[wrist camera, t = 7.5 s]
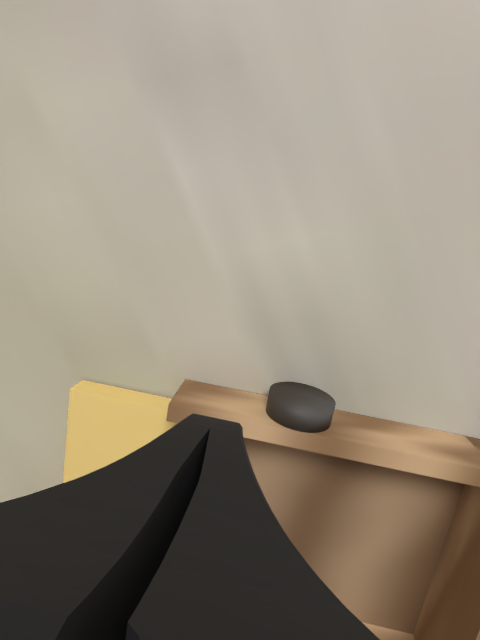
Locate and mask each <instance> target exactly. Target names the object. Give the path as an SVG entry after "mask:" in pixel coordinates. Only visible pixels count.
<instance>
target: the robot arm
mask: <svg viewBox="0 0 480 640" xmlns="http://www.w3.org/2000/svg"><path fill="white" fill-rule="evenodd" d="M0 640H380V639H379V638H378V637H377V636H376V635H375V634H374V633H373V632H371V631H370V630H369V629H368V628H367V627H366V626H365V625H364V624H363V623H362V622H361V621H360V620H359V619H358V618H357V617H356V616H355V615H354V614H353V613H352V612H351V611H349V610H348V609H347V608H346V606H345V605H344V604H343V603H342V602H341V601H340V600H339V599H338V598H337V597H336V596H335V595H334V593H333V592H332V591H331V590H330V589H329V588H328V587H327V586H326V585H325V583H324V582H323V581H322V580H321V579H320V578H319V577H318V576H317V574H316V573H315V572H314V571H313V570H312V568H311V567H310V566H309V564H308V563H307V562H306V561H305V559H304V558H303V557H302V555H301V554H300V553H299V551H298V550H297V549H296V547H295V546H294V545H293V543H292V542H291V541H290V539H289V538H288V536H287V535H286V533H285V532H284V530H283V528H282V527H281V525H280V524H279V522H278V520H277V518H276V517H275V515H274V513H273V512H272V510H271V508H270V506H269V504H268V502H267V500H266V498H265V496H264V494H263V492H262V490H261V488H260V486H259V483H258V481H257V479H256V476H255V474H254V471H253V468H252V466H251V463H250V460H249V457H248V454H247V451H246V447H245V443H244V438H243V428H242V426H241V425H240V423H237V422H232V421H228V420H223V419H218V418H213V417H209V416H204V415H199V414H194V413H193V414H191V415H189V416H188V417H186V418H185V419H183V420H182V421H180V422H179V423H178V424H176V425H175V426H173V427H172V428H170V429H169V430H167V431H166V432H165V433H163V434H162V435H160V436H158V437H157V438H155V439H154V440H152V441H151V442H149V443H148V444H146V445H144V446H143V447H141V448H139V449H137V450H135V451H134V452H132V453H130V454H128V455H127V456H125V457H123V458H121V459H119V460H117V461H115V462H113V463H111V464H109V465H107V466H105V467H103V468H100V469H98V470H96V471H93V472H91V473H89V474H86V475H84V476H82V477H79V478H77V479H74V480H71V481H68V482H65V483H62V484H60V485H57V486H54V487H51V488H48V489H45V490H42V491H39V492H36V493H33V494H30V495H27V496H23V497H20V498H16V499H13V500H9V501H5V502H2V503H0Z"/></svg>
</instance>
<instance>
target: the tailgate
mask: <svg viewBox="0 0 480 640" xmlns="http://www.w3.org/2000/svg"><path fill="white" fill-rule="evenodd" d="M171 400H172V399H171V398H166V397H161V396H156V395H152V394H147V393H142V392H137V391H133V390H128V389H123V388H118V387H113V386H109V385H104V384H99V383H94V382H89V381H85V380H82V381H80V382H79V383H78V384H76V385H75V386H73V387H72V388H71V389H70V397H69V410H68V424H67V438H66V451H65V465H64V478H63V483H65V482H68V481H71V480H74V479H77V478H79V477H82V476H84V475H86V474H89V473H91V472H93V471H96V470H98V469H100V468H103V467H105V466H107V465H109V464H111V463H113V462H115V461H117V460H119V459H121V458H123V457H125V456H127V455H128V454H130V453H132V452H134V451H135V450H137V449H139V448H141V447H143V446H144V445H146V444H148V443H149V442H151V441H152V440H154V439H155V438H157V437H158V436H160V435H162V434H163V433H165V432H166V431H167V430H169V429H170V428H172V427H173V426H175V425H176V424H178V423H173V422H169V421H166V419H167V412H168V404H169V403H170V401H171Z"/></svg>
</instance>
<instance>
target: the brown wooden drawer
mask: <svg viewBox="0 0 480 640" xmlns="http://www.w3.org/2000/svg"><path fill="white" fill-rule="evenodd" d="M334 409H335V401H334V399H333V398H332V397H331V396H330V395H329V394H327V393H326V392H324V391H322V390H320V389H318V388H315V387H312V386H309V385H306V384H301V383H295V382H279V383H275V384H273V385H272V386H271V387H270V390H269V395H268V396H265V395H260V394H255V393H250V392H245V391H240V390H235V389H231V388H226V387H221V386H216V385H211V384H206V383H201V382H196V381H191V380H186V379H185V381H184V382H183V384H182V385H181V387H180V388H179V390H178V391H177V392H176V394H175V395H174V397H173V398H172V400H171V401H170V403H169V404H168V412H167V419H166V421H169V422H173V423H179V422H180V421H182V420H183V419H185V418H186V417H188V416H189V415H191V414H193V413H194V414H199V415H204V416H209V417H213V418H218V419H223V420H228V421H232V422H237V423H240V425H241V426H242V428H243V438H244V443H245V447H246V451H247V454H248V457H249V460H250V463H251V466H252V468H253V471H254V474H255V476H256V479H257V481H258V483H259V486H260V488H261V490H262V492H263V494H264V496H265V498H266V500H267V502H268V504H269V506H270V508H271V510H272V512H273V513H274V515H275V517H276V518H277V520H278V522H279V524H280V525H281V527H282V528H283V530H284V532H285V533H286V535H287V536H288V538H289V539H290V541H291V542H292V543H293V545H294V546H295V547H296V549H297V550H298V551H299V553H300V554H301V555H302V557H303V558H304V559H305V561H306V562H307V563H308V564H309V566H310V567H311V568H312V570H313V571H314V572H315V573H316V574H317V576H318V577H319V578H320V579H321V580H322V581H323V582H324V583H325V585H326V586H327V587H328V588H329V589H330V590H331V591H332V592H333V593H334V595H335V596H336V597H337V598H338V599H339V600H340V601H341V602H342V603H343V604H344V605H345V606H346V608H347V609H348V610H349V611H351V612H352V613H353V614H354V615H355V616H356V617H357V618H358V619H359V620H360V621H361V622H362V623H363V624H364V625H365V626H366V627H367V628H368V629H369V630H370V631H371V632H373V633H374V634H375V635H376V636H377V637H378V638H379V639H380V640H480V439H477V438H472V437H467V436H462V435H457V434H452V433H447V432H443V431H438V430H433V429H428V428H423V427H418V426H413V425H408V424H403V423H398V422H393V421H388V420H383V419H378V418H374V417H369V416H364V415H359V414H354V413H349V412H344V411H339V410H334Z"/></svg>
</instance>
